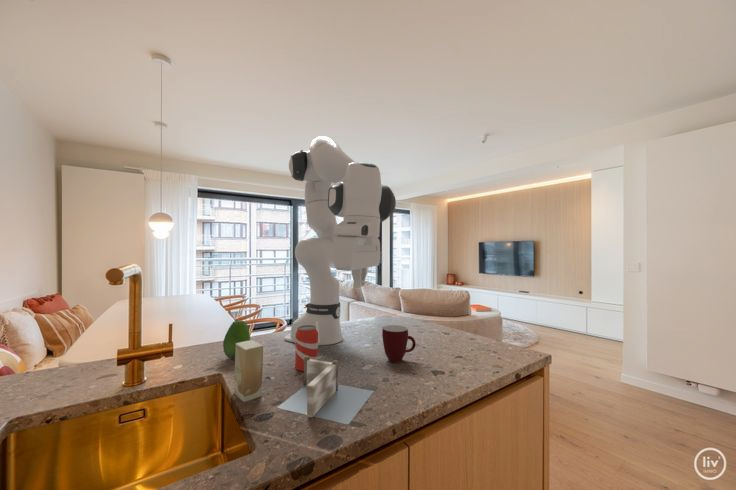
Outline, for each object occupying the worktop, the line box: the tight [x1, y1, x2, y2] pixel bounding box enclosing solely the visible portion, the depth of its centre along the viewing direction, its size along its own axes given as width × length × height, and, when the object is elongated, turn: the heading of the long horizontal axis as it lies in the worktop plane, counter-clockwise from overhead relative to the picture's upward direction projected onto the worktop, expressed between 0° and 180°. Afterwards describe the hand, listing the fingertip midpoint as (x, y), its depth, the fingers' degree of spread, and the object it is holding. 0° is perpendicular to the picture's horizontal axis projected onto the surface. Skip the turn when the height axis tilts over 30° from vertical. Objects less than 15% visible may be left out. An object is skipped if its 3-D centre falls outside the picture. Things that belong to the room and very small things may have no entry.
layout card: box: [276, 384, 374, 426], centre depth 69 cm, size 17×15×1 cm
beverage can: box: [294, 325, 319, 372], centre depth 87 cm, size 6×6×12 cm
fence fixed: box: [303, 356, 339, 391], centre depth 75 cm, size 9×1×7 cm, turn 69°
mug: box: [381, 324, 417, 363], centre depth 95 cm, size 11×8×10 cm
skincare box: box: [233, 339, 264, 403], centre depth 71 cm, size 6×4×12 cm
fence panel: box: [306, 364, 336, 418], centre depth 66 cm, size 12×1×6 cm, turn 163°
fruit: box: [222, 319, 251, 361], centre depth 95 cm, size 8×8×12 cm
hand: (359, 286), depth 72 cm, fingers closed
